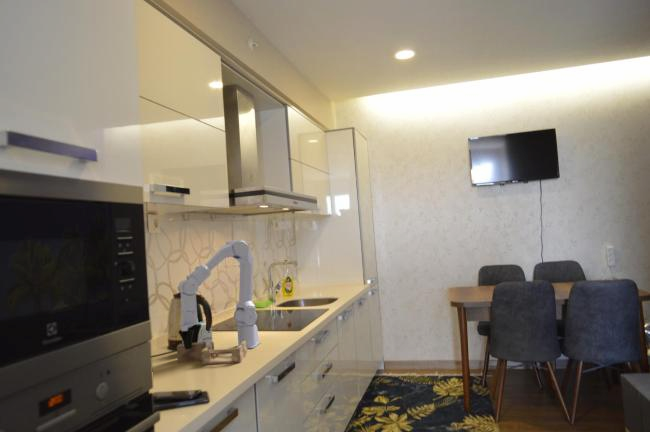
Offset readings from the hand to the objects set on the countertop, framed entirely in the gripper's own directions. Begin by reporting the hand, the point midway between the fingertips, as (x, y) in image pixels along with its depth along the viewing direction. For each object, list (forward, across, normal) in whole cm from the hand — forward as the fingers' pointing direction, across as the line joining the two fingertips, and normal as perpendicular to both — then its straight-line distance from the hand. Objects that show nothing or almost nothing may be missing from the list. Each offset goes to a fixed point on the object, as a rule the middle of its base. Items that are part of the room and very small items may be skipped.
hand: (191, 346), depth 182 cm
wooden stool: (+5, +3, +14) cm, 15 cm away
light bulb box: (+5, -14, -2) cm, 15 cm away
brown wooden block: (+5, 0, 0) cm, 5 cm away
